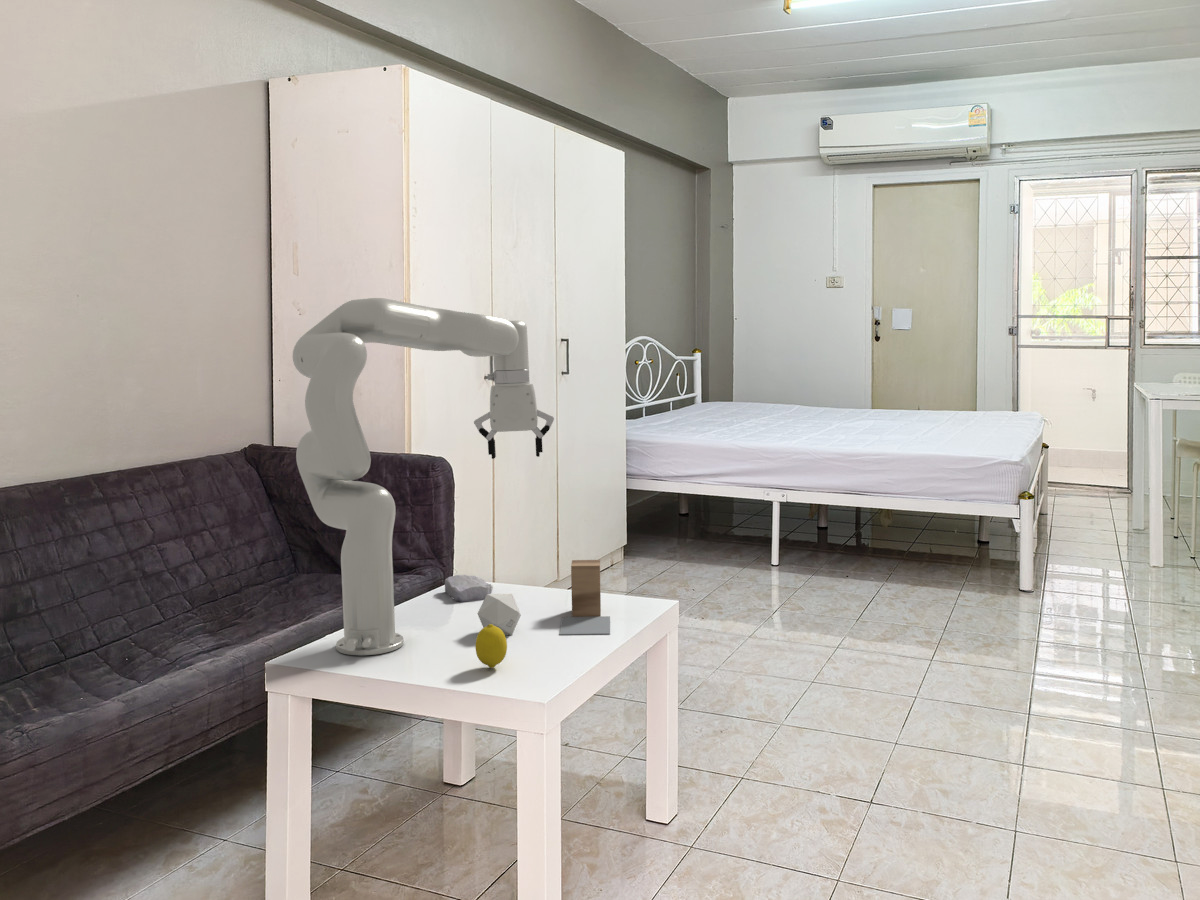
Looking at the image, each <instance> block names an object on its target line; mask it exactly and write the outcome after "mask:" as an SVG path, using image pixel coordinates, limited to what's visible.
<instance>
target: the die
mask: <svg viewBox="0 0 1200 900" xmlns="http://www.w3.org/2000/svg"><path fill="white" fill-rule="evenodd" d="M479 607H480V608H479V610H478V611H477V615H478V619H479V621H480V623H481V626H482V627H483V628H484V627H487V626H488V625H489V624H493V626H496V627H498V628H500V629H501V630H502V631H503V633H504V635H505V636H513V634H514V631H515V629H516V627H517V625H518V622H519V621H520V618H521V616H522V615H521V612H520V610H519V609H520V608H519V607H518V604H517V602H516V600H515V598H514V594H513V593H491V594H487V595H486V597H485V599H483V600H482V603H481V605H480V606H479ZM483 628H482V629H483Z"/></svg>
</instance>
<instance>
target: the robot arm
mask: <svg viewBox="0 0 1200 900" xmlns="http://www.w3.org/2000/svg"><path fill="white" fill-rule="evenodd" d="M367 343H368V344H370V343H371V344H372V343H373V344H384V345H390V346H396V347H403V348H411V349H415V350H416V349H417V350H422V351H431V352H440V351H441V352H446V351H448V352H451V351H461V352H462V353H463V354H464V355H466V356H470V357H473V358H474V357H476V358H478V357H479V358H481V357H493V372H491V373H488V374H487V381H492V382H493V383H494V385H490V386H491V387H490V395H489V412H486V413H484V414H483V415H481V416H479V417H478V418H477V419H475V420H474V421H473V424H474V426H475V427H476V429H477V431H478V433H479V434H480V435H481V436H482V437H484V438H485V439H486V441H487V449H488V450H487V451H488V453H487V454H488V456H489V455H491V459H493V460H494V459H496V457H497V453H496V440H495V438H494V436H495V435H496V434H497V433H498V432H499V433H501V432H504V433H505V432H524V431H525V432H527V431H531V432H532V433H533V434H534V435H535V436H536V437H535V438H534V439H535V455H536V456H535V457H536V458H539V457H540V453H544V451H543V437H544V436H546V434H547V433H548V431H550V429H551V427H552V424H553V422H554V420H555V418H554V416H552V415H551V414H548V413H546V412H543V411H541V410H539V409H538V407H537V400H536V399H537V398H536V392H535V391H536V390H535V387H534V383H530V363H529V362H530V361H529V346H528V345H529V343H528V327H527V324H526V323H525V322H524V321H522V320H507V319H504V318H499V317H496V316H491V315H484V314H479V313H470V312H465V311H464V312H463V311H457V310H450V309H444V308H437V307H430V306H426V305H417V304H414V303H409V302H404V301H399V300H393V299H389V298H383V297H371V298H369V297H368V298H359V299H351V300H349V301H346V302H344V303H343V304H341V305H339V306H338V307H337V308H336V309H334V310H332V312H330V313H329V314H328V315H326V316H325V317H324V318H323V319H321V320H320V321H319V322H317V323H316V324H315V325H314V326H313V327H311V328H310V329H308V331H306V332H305V333H304V334H303V335H302V336H301V337H299V339H298V340H297V341H296V343H295V345H294V347H293V349H292V350H293V351H292V363H293V365H294V367H295V369H296V370H297V371H298V372H299V373H300V374H301V375H303V376H304V377H306V378H309V379H310V380H309V382H308V384H307V389H306V392H305V397H304V407H305V408H304V409H305V414H306V417H307V419H308V424H309V426H310V430H309V431H307V432H305V434H303V436H302V437H301V438H300V440H299V441H298V444H297V447H296V455H295V458H296V459H295V460H296V465H297V468H298V472H299V475H300V478H301V480H302V482H303V483H302V484H303V485H304V488H305V491H306V493H307V495H308V498H309V500H310V503H311V506H312V508H313V511H314V512H315V514H316V516H317V517H318V519H319V520H320V521H321V522H322V523H323V524H325V525H326V526H328V527H331V528H335V529H339V530H343V531H344V530H345V535H344V536H345V537H344V539H343V543H342V545H341V550H340V552H341V553H340V569H341V589H342V590H341V591H342V592H341V593H342V615H343V635H344V636H343V637H342V638H339V639H338V640H337V641H336V644H335V646H336V650H337V651H338V652H339V653H341V654H343V655H349V656H374V655H380V654H386V653H389V652H393V651H396V650H398V649H399V648H401V647H403V645H404V643H405V642H404V641H405V640H404V636H403V635H402V634H400V633H397V632H396V622H395V621H396V620H395V597H394V596H395V595H394V593H395V592H394V589H395V588H394V564H393V535H394V527H395V521H396V515H397V514H396V503H395V500H394V498H393V496H392V493H390V491H388V490H387V489H386V488H385V487H383V486H381V485H380V484H377V483H372V482H366V481H359V480H358V479H361V478H363V477H364V476H365V475H366V474H367V473H368V472H369V470H370V468H371V463H372V462H371V461H372V458H371V451H370V449H369V445H368V443H367V440H366V438H365V435H364V432H363V429H362V426H361V424H360V420H359V418H358V415H357V412H356V408H355V405H354V389H355V386H356V383H357V381H358V379H359V377H360V375H361V373H362V372H363V370H364V368H365V366H366V363H367V357H368V351H367V347H366V344H367ZM538 418H541V419H543V420H545V421H546V422H545V425H544V426H543V427H542V428H541V429H540V428H539V427H538V423H539V422H538ZM488 420H489V423H490V430H489V431H488V430H487V429H485V428H484V426H483V423H484V422H486V421H488Z"/></svg>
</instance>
